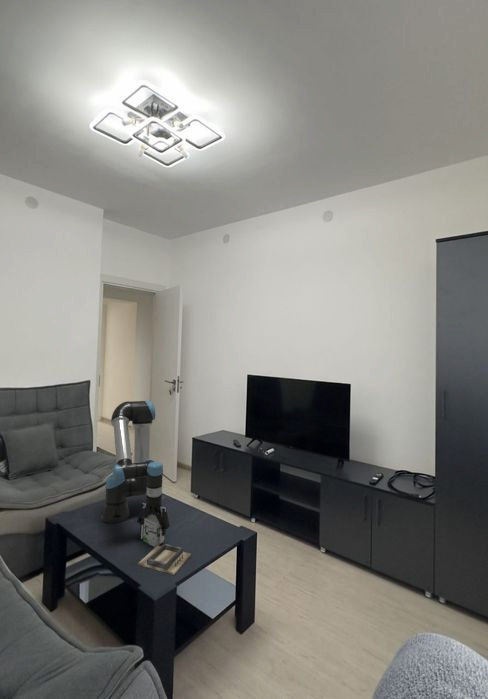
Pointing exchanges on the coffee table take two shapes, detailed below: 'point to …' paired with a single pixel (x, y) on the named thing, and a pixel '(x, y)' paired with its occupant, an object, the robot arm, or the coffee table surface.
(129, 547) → the coffee table surface
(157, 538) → the ink box
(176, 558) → the header board
